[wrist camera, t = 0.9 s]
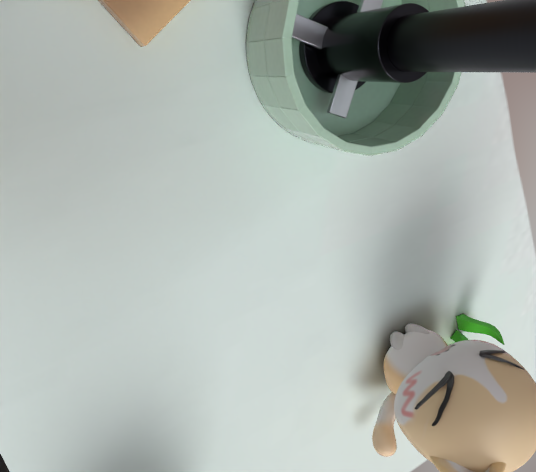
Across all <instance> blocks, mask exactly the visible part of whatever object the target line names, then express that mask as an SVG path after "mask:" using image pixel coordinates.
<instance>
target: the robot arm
mask: <svg viewBox="0 0 536 472" xmlns="http://www.w3.org/2000/svg"><path fill="white" fill-rule="evenodd" d="M0 472H9V470H8V468H7V466H6V464H5V462H4V460H3V458H2V456H1V454H0Z"/></svg>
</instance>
